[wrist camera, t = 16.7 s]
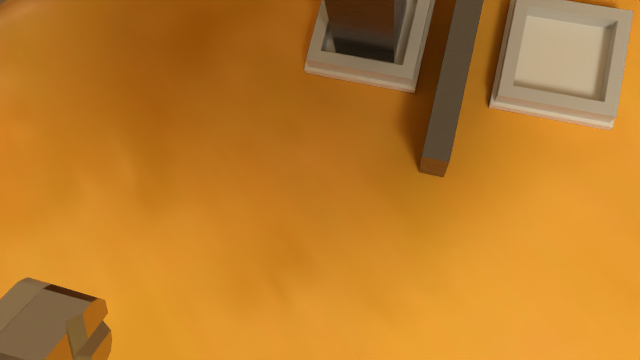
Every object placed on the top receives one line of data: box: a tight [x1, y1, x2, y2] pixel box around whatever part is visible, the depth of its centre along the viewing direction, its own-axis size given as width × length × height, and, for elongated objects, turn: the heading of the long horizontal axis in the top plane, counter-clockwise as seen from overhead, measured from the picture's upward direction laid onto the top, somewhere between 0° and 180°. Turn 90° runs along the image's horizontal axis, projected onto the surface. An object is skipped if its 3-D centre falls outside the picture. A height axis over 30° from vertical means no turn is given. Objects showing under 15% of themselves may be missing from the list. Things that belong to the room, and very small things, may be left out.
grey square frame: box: [489, 0, 633, 130], centre depth 38 cm, size 8×8×2 cm
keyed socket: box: [304, 0, 436, 93], centre depth 40 cm, size 8×8×2 cm
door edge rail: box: [419, 0, 483, 177], centre depth 38 cm, size 2×18×4 cm, turn 166°
